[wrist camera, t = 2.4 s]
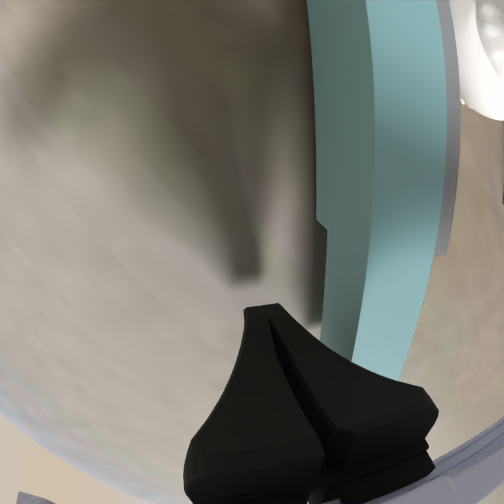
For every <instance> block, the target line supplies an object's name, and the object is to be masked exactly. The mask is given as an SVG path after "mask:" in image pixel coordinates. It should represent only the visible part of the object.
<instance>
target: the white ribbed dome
mask: <svg viewBox="0 0 504 504" xmlns="http://www.w3.org/2000/svg"><path fill="white" fill-rule="evenodd" d="M449 4H450V9H451V14H452V20H453V26H454V32H455V40H456V48H457V57H458V68H459V82H460V103H461V104H465V105H466V106H468V107H469V108H472V109H474V110H475V111H477V112H478V113H480V114H482V115H484V116H486V117H488V118H491V119H495V120H501V121H502V120H504V0H449Z"/></svg>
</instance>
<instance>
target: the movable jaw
mask: <svg viewBox="0 0 504 504" xmlns="http://www.w3.org/2000/svg"><path fill="white" fill-rule="evenodd" d="M307 9H308V19H309V29H310V41H311V53H312V68H313V84H314V104H315V131H316V220H317V221H318V222H319V223H320V224H322V225H323V226H324V227H325V228H326V229H327V230H328V231H327V254H326V273H325V288H324V302H323V315H322V326H321V337H320V342H322V343H323V344H324V345H326V346H327V347H328V348H330V349H331V350H333V351H334V352H336V353H338V354H339V355H341V356H342V357H344V358H346V359H347V360H349V361H351V362H353V363H355V364H357V365H359V366H361V367H363V368H365V369H367V370H370V371H372V372H374V373H377V374H379V375H382V376H385V377H387V378H390V379H393V380H396V381H398V380H399V377H400V374H401V372H402V369H403V366H404V363H405V360H406V357H407V354H408V351H409V348H410V345H411V342H412V339H413V336H414V333H415V329H416V326H417V322H418V319H419V315H420V312H421V308H422V304H423V300H424V296H425V292H426V288H427V284H428V280H429V275H430V271H431V266H432V261H433V257H436V256H441V255H446V253H447V248H448V243H449V237H450V232H451V226H452V219H453V213H454V206H455V198H456V189H457V179H458V168H459V153H460V82H459V68H458V57H457V48H456V40H455V32H454V26H453V20H452V14H451V9H450V4H449V0H307Z"/></svg>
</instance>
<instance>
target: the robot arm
mask: <svg viewBox="0 0 504 504" xmlns="http://www.w3.org/2000/svg"><path fill="white" fill-rule="evenodd" d="M243 311H244V332H243V337H242V342H241V347H240V350H239V354H238V357H237V360H236V363H235V366H234V369H233V372H232V374H231V376H230V379H229V381H228V383H227V385H226V387H225V390H224V392H223V394H222V395H221V397H220V399H219V401H218V403H217V404H216V406H215V407H214V409H213V411H212V412H211V414H210V415H209V417H208V418H207V420H206V421H205V423H204V424H203V425H202V427H201V428H200V429H199V430H198V432H197V433H196V434H195V436H194V437H193V438H192V439H191V442H190V445H189V448H188V451H187V455H186V459H185V464H184V472H183V479H184V491H185V494H186V495H187V496H188V498H189V499H190V500H191V501H192V503H193V504H307V502H308V503H309V504H477V503H478V502H480V501H481V500H482V499H483V498H485V497H486V496H488V495H489V494H490V493H491V492H493V491H494V490H495V489H497V488H498V487H499V486H500V485H502V484H503V483H504V417H503V418H502V419H500V420H499V421H497V422H496V423H494V424H493V425H492V426H490V427H489V428H487V429H486V430H484V431H483V432H481V433H480V434H478V435H477V436H475V437H473V438H472V439H471V440H469V441H467V442H465V443H464V444H462V445H460V446H459V447H457V448H455V449H454V450H452V451H450V452H448V453H446V454H445V455H443V456H441V457H439V458H437V459H435V460H433V461H432V460H431V458H430V457H429V455H428V453H427V451H426V450H427V449H428V448H429V445H428V443H427V441H426V440H425V437H426V436H427V434H428V433H429V431H430V430H431V428H432V427H433V425H434V424H435V422H436V420H437V418H438V413H439V410H438V408H437V407H436V405H435V404H434V402H433V401H432V399H431V398H430V396H429V395H428V394H427V393H426V391H425V390H424V389H423V388H422V387H419V386H415V385H411V384H407V383H403V382H399V381H396V380H393V379H390V378H387V377H385V376H382V375H379V374H377V373H374V372H372V371H370V370H367V369H365V368H363V367H361V366H359V365H357V364H355V363H353V362H351V361H349V360H347V359H346V358H344V357H342V356H341V355H339V354H338V353H336V352H334V351H333V350H331V349H330V348H328V347H327V346H326V345H324V344H323V343H322V342H320V341H319V340H318V339H317V338H315V337H314V336H313V335H312V334H311V333H309V332H308V331H307V330H306V329H305V328H304V327H302V326H301V325H300V324H299V323H298V322H297V321H296V320H295V319H294V318H293V317H292V316H291V315H290V314H289V313H288V312H287V311H286V310H285V309H284V308H283V307H282V306H281V305H280V304H279V303H276V304H269V305H262V306H254V307H247V308H245V309H244V310H243ZM16 504H55V503H53V502H51V501H49V500H47V499H44V498H41V497H37V496H34V495H30V494H27V493H24V492H18V497H17V502H16Z"/></svg>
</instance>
